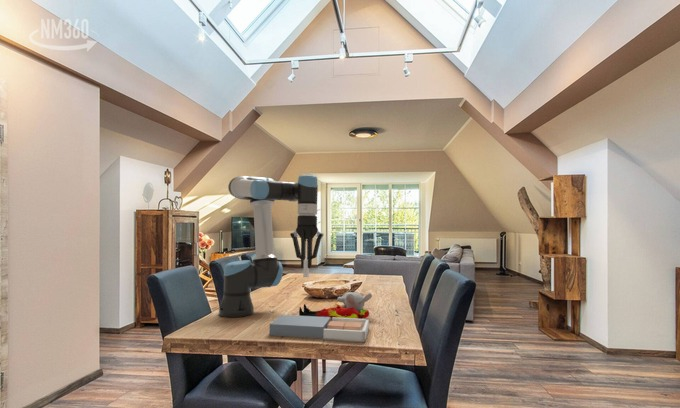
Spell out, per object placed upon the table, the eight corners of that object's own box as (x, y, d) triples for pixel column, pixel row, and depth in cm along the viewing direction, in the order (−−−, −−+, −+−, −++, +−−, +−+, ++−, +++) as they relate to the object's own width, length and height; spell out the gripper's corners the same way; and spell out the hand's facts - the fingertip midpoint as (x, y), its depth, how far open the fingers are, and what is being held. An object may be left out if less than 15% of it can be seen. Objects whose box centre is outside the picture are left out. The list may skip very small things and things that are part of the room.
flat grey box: (269, 335, 131) (269, 324, 131) (281, 324, 145) (281, 314, 145) (323, 338, 128) (323, 327, 128) (330, 327, 141) (330, 317, 142)
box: (323, 339, 126) (323, 329, 126) (332, 326, 143) (332, 317, 143) (364, 342, 124) (364, 331, 124) (368, 328, 140) (368, 319, 141)
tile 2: (360, 327, 130) (360, 335, 129) (362, 322, 136) (362, 330, 135) (344, 326, 131) (343, 334, 130) (346, 321, 137) (346, 329, 136)
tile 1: (327, 333, 132) (327, 325, 132) (330, 328, 137) (330, 320, 138) (343, 334, 130) (343, 326, 131) (346, 329, 136) (346, 321, 136)
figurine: (306, 301, 165) (370, 302, 159) (306, 315, 165) (371, 316, 159) (297, 308, 153) (366, 309, 147) (297, 322, 153) (367, 324, 147)
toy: (336, 310, 181) (346, 317, 152) (336, 290, 183) (346, 293, 153) (359, 309, 183) (374, 316, 154) (359, 289, 184) (373, 293, 155)
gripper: (288, 214, 136) (286, 277, 135) (321, 215, 134) (320, 278, 133) (293, 215, 144) (292, 274, 142) (325, 215, 142) (324, 275, 140)
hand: (306, 276), depth 138 cm, fingers closed
